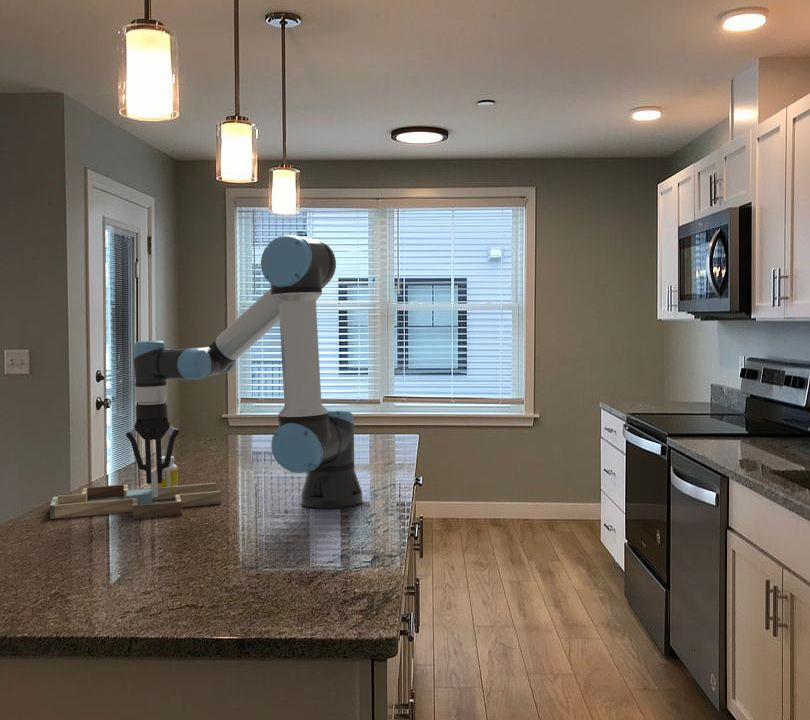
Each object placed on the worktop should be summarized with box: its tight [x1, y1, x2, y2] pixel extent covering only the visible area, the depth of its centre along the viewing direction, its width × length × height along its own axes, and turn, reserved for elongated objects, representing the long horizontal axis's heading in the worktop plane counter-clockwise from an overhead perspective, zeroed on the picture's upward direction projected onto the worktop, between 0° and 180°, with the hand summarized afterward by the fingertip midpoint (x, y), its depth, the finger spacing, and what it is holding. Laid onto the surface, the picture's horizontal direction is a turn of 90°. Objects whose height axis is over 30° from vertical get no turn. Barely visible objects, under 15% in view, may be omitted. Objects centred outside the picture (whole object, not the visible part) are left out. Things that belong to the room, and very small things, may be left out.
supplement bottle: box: [155, 455, 179, 487], centre depth 220 cm, size 5×5×10 cm
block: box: [127, 488, 153, 505], centre depth 207 cm, size 6×6×4 cm
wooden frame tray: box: [49, 482, 222, 520], centre depth 207 cm, size 28×40×3 cm
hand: (154, 496), depth 208 cm, fingers closed
